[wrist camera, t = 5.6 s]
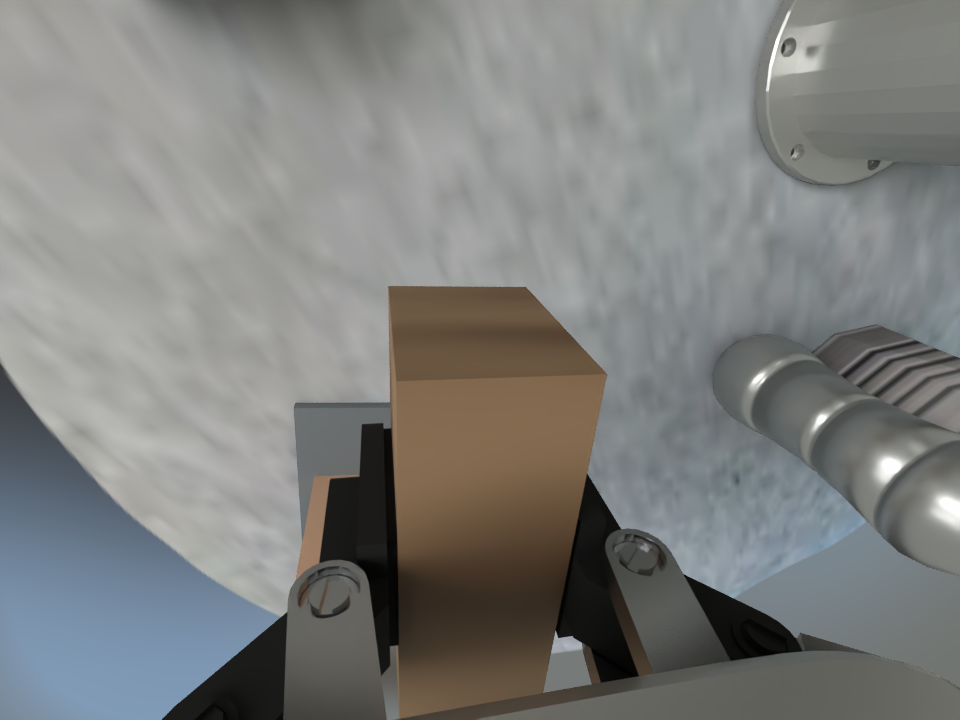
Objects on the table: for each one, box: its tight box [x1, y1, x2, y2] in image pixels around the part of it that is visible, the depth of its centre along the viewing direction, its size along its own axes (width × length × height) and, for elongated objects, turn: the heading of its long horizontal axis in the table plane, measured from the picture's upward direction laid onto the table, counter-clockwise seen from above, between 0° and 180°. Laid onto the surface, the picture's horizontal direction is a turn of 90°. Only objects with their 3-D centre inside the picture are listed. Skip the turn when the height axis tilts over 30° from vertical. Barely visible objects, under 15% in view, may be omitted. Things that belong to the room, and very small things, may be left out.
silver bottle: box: [713, 334, 960, 576], centre depth 26 cm, size 6×7×20 cm
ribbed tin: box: [812, 325, 960, 434], centre depth 33 cm, size 11×11×12 cm
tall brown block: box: [381, 286, 607, 720], centre depth 12 cm, size 16×6×4 cm, turn 176°
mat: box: [294, 403, 391, 542], centre depth 34 cm, size 10×15×1 cm
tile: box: [296, 475, 359, 579], centre depth 29 cm, size 8×2×8 cm, turn 84°
